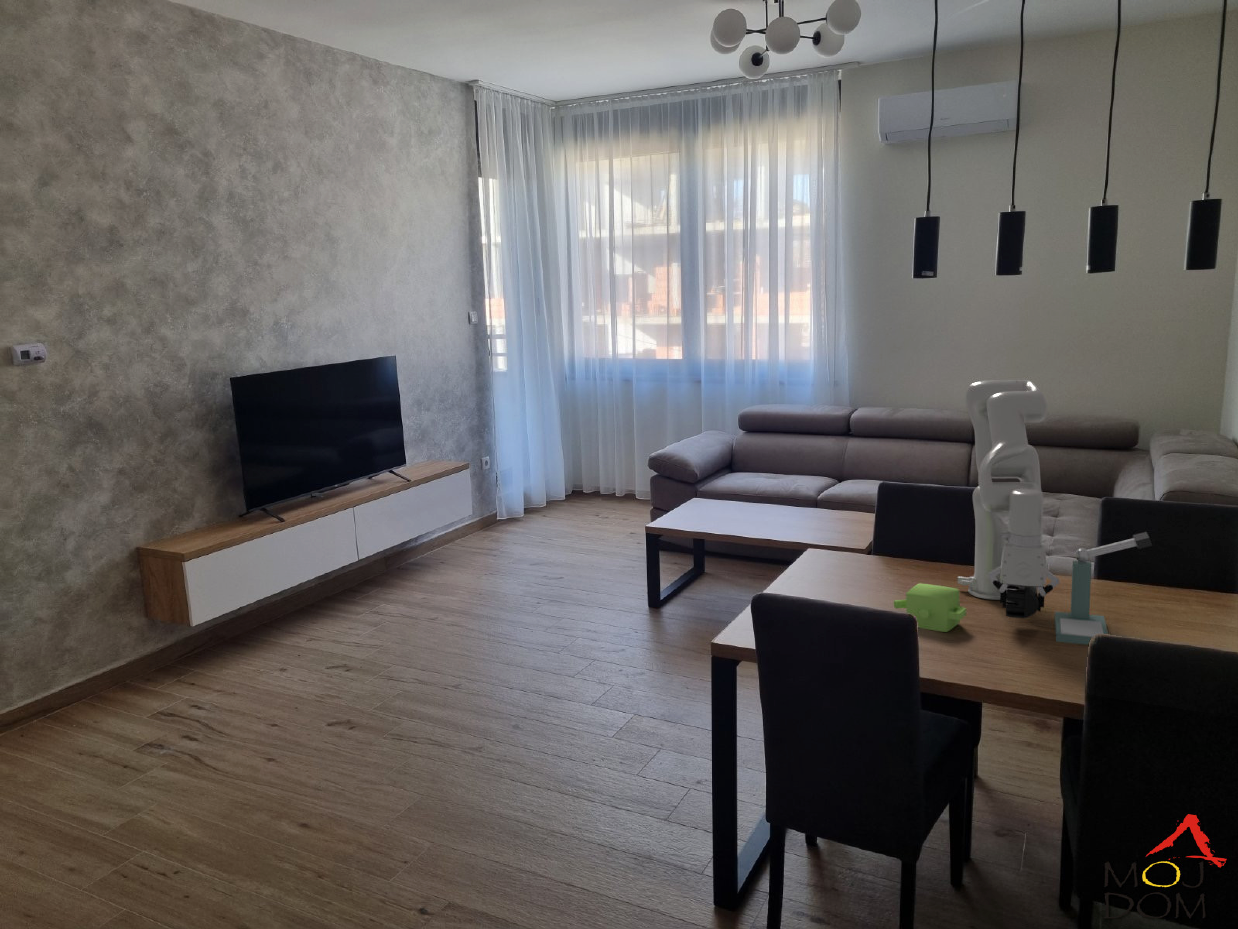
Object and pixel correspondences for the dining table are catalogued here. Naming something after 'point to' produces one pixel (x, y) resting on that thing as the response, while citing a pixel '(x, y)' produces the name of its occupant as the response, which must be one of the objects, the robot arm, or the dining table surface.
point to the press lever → (1114, 547)
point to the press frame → (1079, 610)
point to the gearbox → (933, 606)
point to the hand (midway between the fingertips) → (1021, 607)
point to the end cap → (1021, 601)
